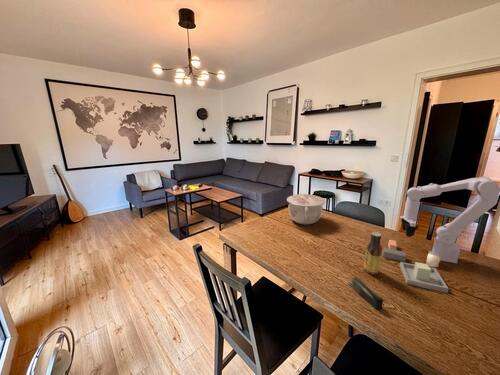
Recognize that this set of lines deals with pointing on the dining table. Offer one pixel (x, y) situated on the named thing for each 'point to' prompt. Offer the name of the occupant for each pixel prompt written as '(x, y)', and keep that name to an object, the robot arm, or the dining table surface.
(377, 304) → the dark grey bar
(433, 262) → the cream round brick
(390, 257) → the grey rectangular block
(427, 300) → the dining table surface
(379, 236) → the sauce bottle
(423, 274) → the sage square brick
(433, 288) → the grey tray
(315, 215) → the chamber pot
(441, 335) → the dining table surface
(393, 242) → the terracotta slim brick
